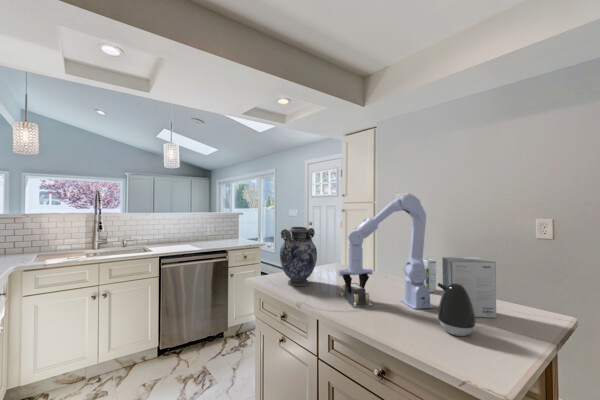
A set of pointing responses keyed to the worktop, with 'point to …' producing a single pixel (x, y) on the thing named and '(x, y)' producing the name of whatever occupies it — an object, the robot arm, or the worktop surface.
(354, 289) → the block
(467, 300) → the pump dispenser
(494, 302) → the hard drive box
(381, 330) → the worktop surface
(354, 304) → the brass peg board
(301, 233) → the decorative vase
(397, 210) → the robot arm
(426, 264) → the syrup box
